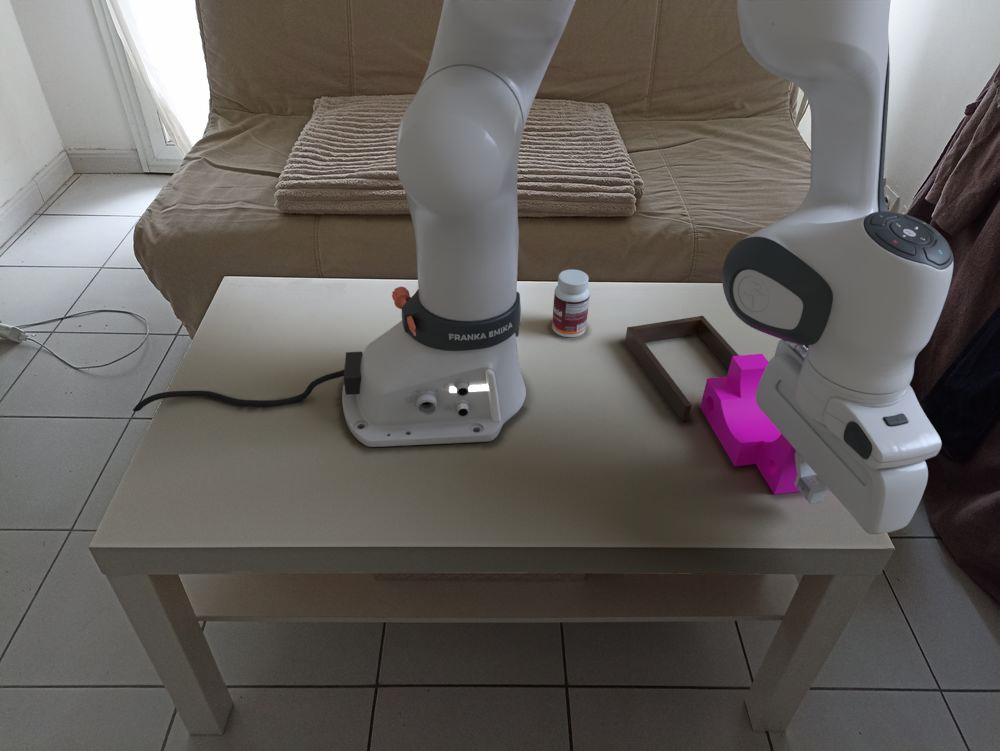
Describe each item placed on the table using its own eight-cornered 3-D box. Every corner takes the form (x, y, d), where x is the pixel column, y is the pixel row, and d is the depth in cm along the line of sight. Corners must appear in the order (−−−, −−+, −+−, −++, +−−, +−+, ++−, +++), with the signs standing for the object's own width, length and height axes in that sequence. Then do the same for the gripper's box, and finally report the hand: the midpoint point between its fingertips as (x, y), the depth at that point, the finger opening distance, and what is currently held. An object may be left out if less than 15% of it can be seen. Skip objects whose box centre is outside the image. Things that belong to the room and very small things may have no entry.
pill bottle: (548, 320, 106) (552, 268, 101) (581, 318, 107) (586, 266, 102) (555, 339, 103) (560, 287, 98) (589, 337, 103) (595, 284, 98)
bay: (682, 422, 90) (686, 405, 88) (624, 342, 103) (627, 327, 101) (766, 406, 92) (771, 390, 91) (699, 330, 105) (702, 315, 104)
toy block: (700, 407, 92) (712, 358, 87) (748, 402, 93) (762, 353, 88) (752, 497, 80) (769, 445, 76) (806, 490, 81) (826, 439, 77)
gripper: (757, 331, 76) (729, 433, 84) (893, 470, 61) (842, 578, 69) (811, 322, 77) (778, 423, 86) (957, 456, 62) (900, 563, 70)
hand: (808, 493), depth 77 cm, fingers closed
